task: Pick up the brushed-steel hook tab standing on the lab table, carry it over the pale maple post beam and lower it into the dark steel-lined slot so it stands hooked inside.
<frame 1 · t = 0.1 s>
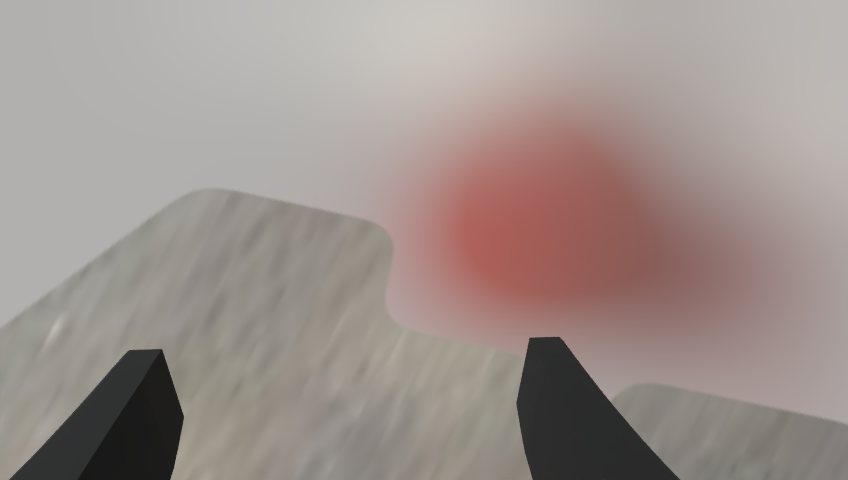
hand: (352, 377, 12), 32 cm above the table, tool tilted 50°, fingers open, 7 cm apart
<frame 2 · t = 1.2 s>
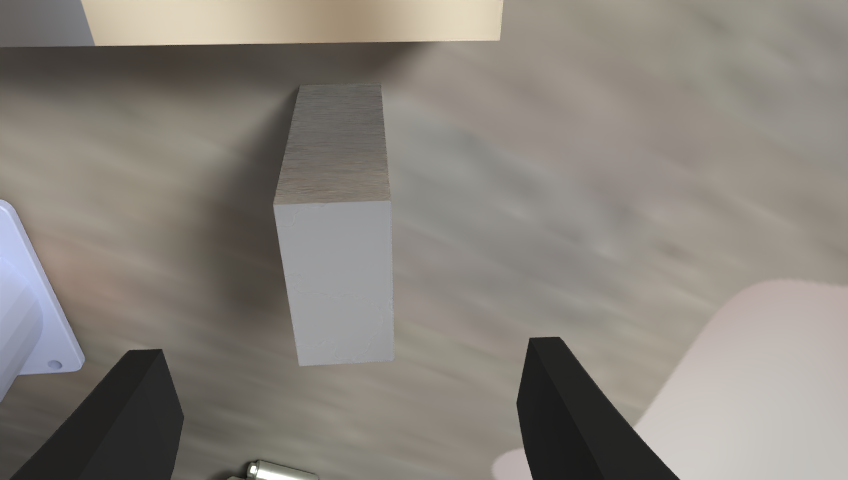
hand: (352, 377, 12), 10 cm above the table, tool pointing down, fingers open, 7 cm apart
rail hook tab: (345, 155, 20), on the table
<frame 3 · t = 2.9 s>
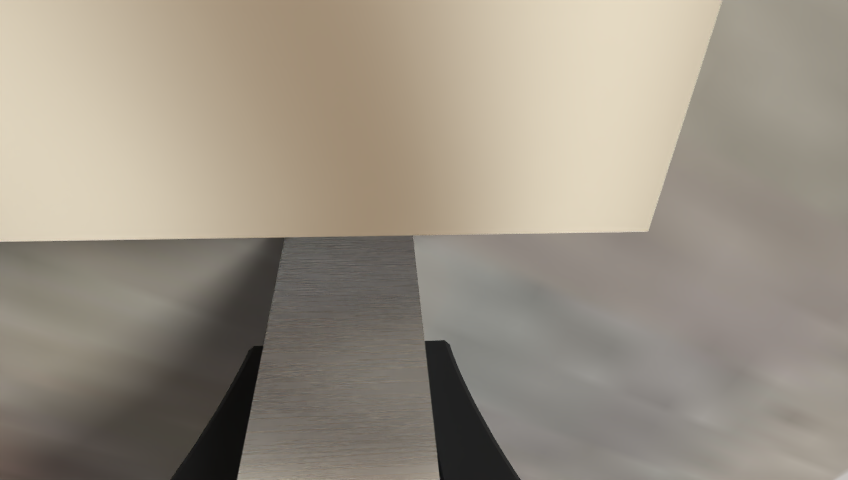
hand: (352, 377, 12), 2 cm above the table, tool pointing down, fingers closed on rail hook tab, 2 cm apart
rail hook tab: (354, 312, 13), on the table, touching gripper
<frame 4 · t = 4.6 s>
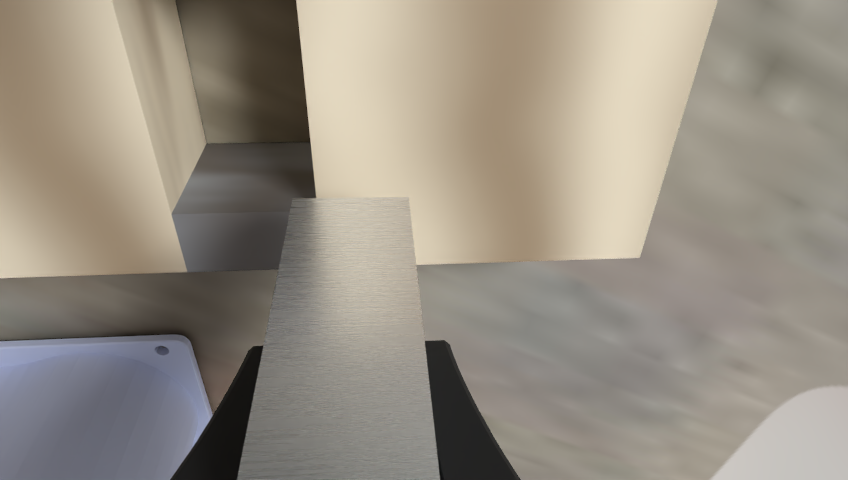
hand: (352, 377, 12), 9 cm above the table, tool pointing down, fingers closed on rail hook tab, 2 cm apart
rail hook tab: (355, 285, 14), point 6 cm above the table, touching gripper
headboard post: (323, 43, 17), on the table
when the fingers open (5 cm above the table, at t = 6.6 s): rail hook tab drops 1 cm, resting in headboard post.
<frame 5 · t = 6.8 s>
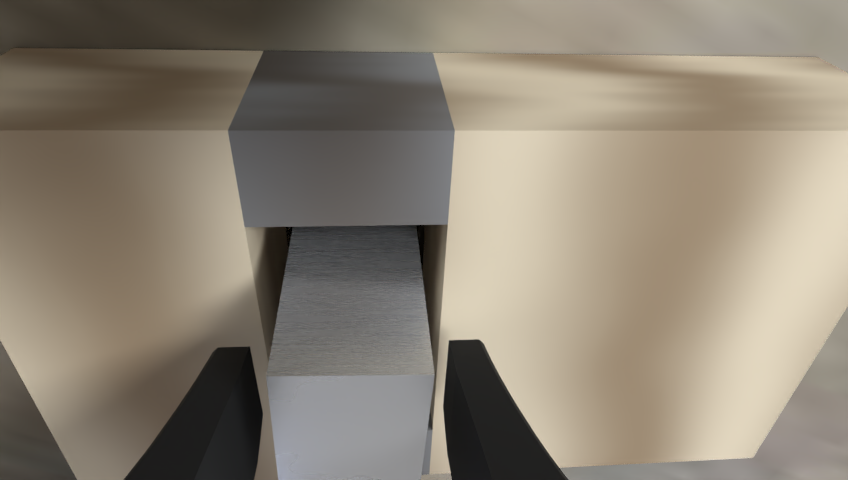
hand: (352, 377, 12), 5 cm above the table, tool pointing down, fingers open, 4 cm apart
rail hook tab: (356, 238, 16), resting in headboard post
headboard post: (429, 235, 16), on the table
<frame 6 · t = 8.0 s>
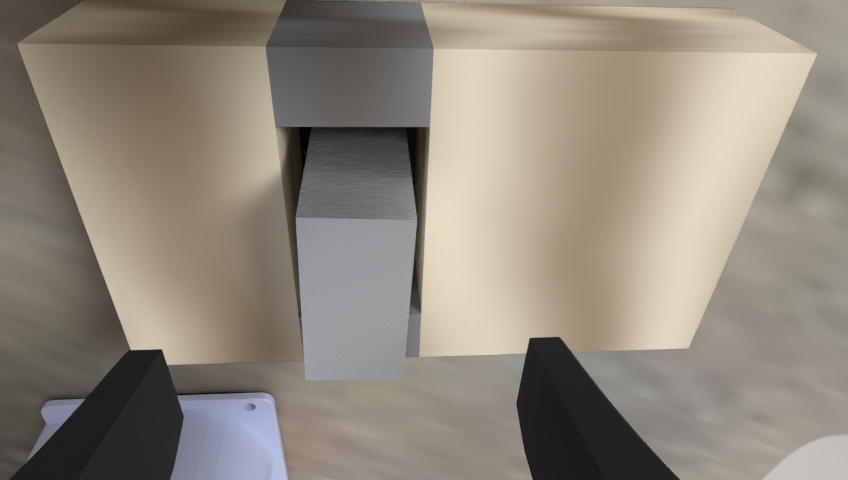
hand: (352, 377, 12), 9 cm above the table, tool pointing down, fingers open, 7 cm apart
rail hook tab: (359, 163, 19), resting in headboard post
headboard post: (420, 161, 19), on the table
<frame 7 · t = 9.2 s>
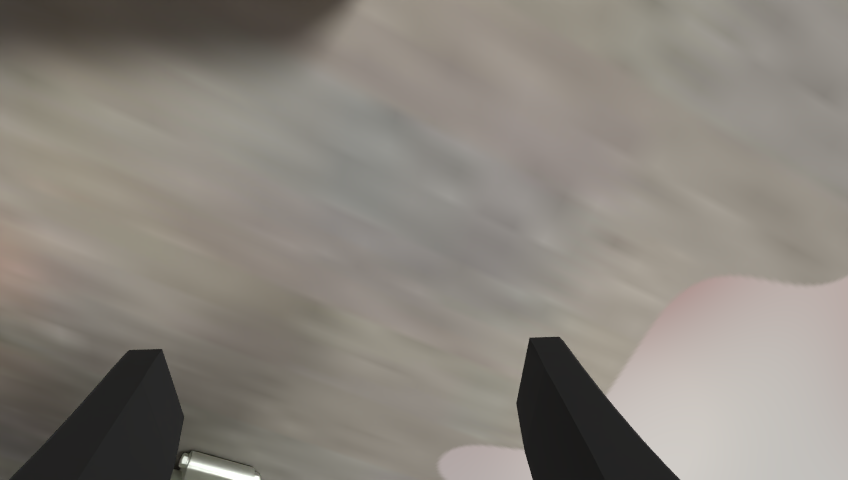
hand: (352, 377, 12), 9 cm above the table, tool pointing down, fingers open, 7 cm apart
pneumatic valve: (209, 474, 29), on the table
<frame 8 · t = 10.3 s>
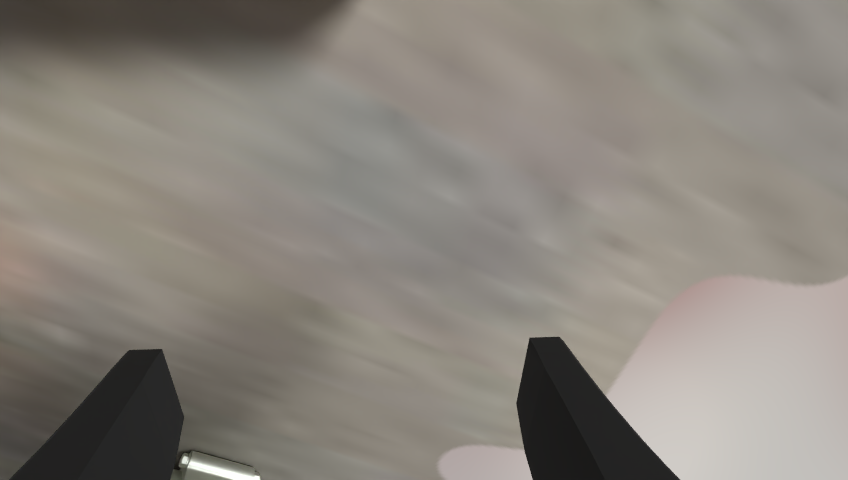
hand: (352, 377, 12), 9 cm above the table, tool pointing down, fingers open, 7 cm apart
pneumatic valve: (209, 474, 29), on the table
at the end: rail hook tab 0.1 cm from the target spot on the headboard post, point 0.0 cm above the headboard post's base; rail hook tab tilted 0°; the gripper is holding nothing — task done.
